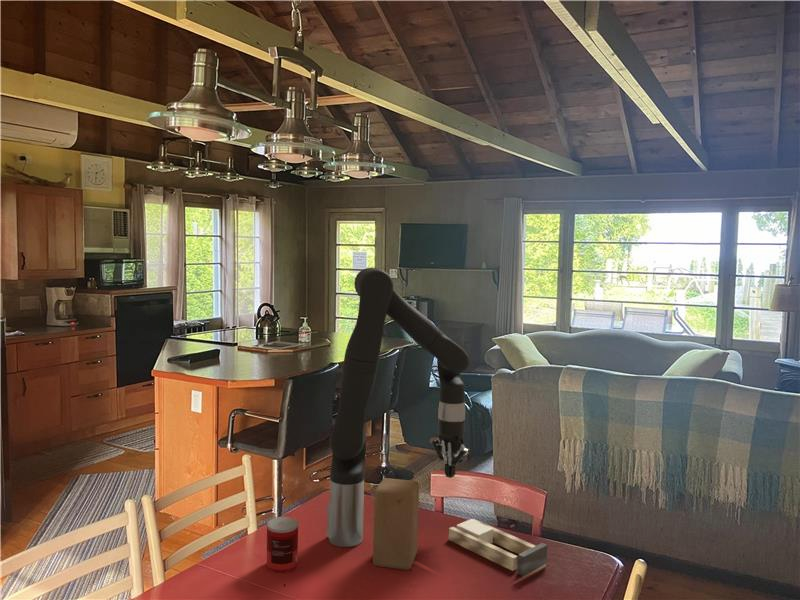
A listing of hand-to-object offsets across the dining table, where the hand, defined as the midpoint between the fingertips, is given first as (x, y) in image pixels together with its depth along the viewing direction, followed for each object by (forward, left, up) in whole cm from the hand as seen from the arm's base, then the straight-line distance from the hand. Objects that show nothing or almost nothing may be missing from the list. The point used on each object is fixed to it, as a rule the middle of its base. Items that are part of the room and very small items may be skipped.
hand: (449, 476), depth 181 cm
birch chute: (+16, 0, -16) cm, 23 cm away
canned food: (-13, -47, -16) cm, 51 cm away
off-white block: (+10, 0, -15) cm, 18 cm away
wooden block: (+3, -23, -16) cm, 28 cm away
